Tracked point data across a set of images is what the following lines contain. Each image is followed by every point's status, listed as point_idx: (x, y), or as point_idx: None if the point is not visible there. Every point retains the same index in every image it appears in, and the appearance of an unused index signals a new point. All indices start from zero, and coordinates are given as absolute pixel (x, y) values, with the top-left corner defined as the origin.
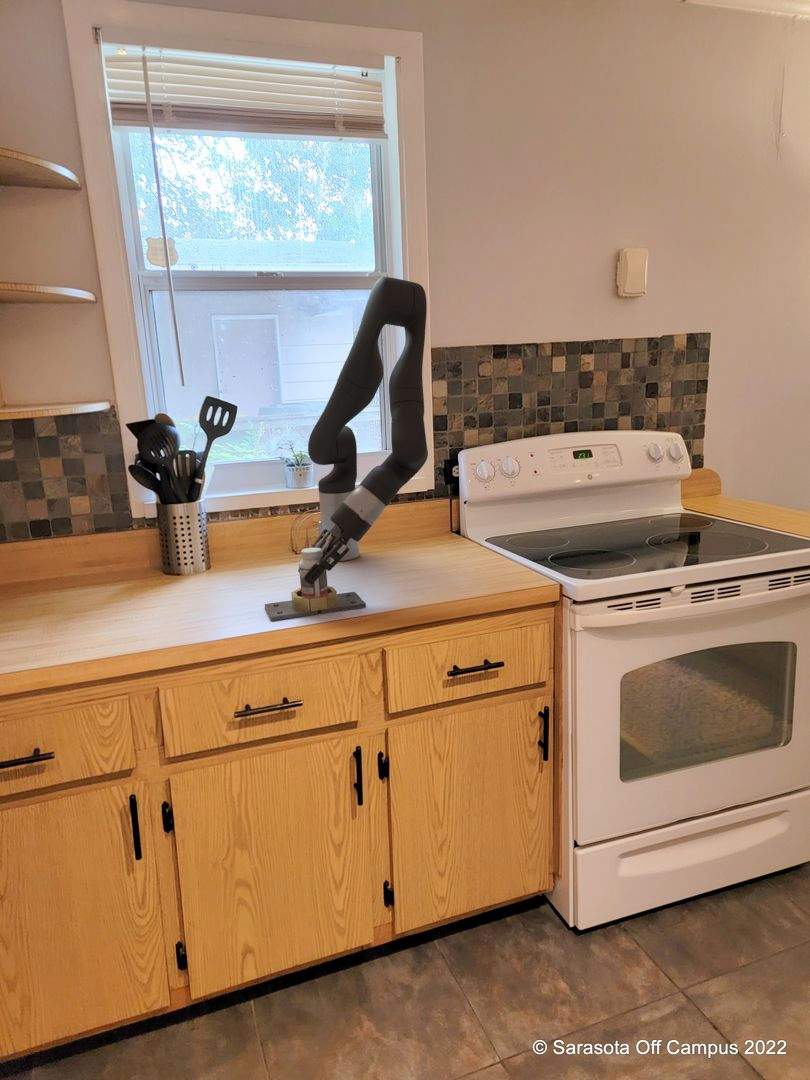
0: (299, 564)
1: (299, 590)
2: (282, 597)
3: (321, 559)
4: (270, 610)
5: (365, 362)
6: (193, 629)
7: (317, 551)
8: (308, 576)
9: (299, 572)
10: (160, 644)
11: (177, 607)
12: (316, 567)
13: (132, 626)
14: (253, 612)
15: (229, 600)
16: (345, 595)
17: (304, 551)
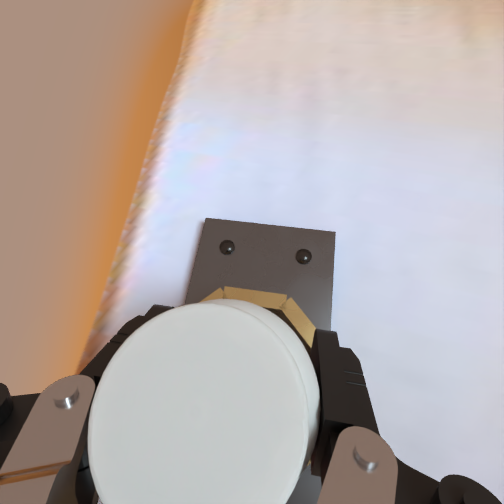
0: (234, 300)
1: (299, 333)
2: (422, 315)
3: (29, 432)
4: (264, 231)
5: None
6: (262, 83)
7: (90, 454)
8: (137, 323)
9: (315, 333)
10: (215, 38)
11: (444, 72)
12: (85, 373)
13: (346, 10)
14: (309, 202)
15: (457, 172)
16: None
17: (185, 323)
